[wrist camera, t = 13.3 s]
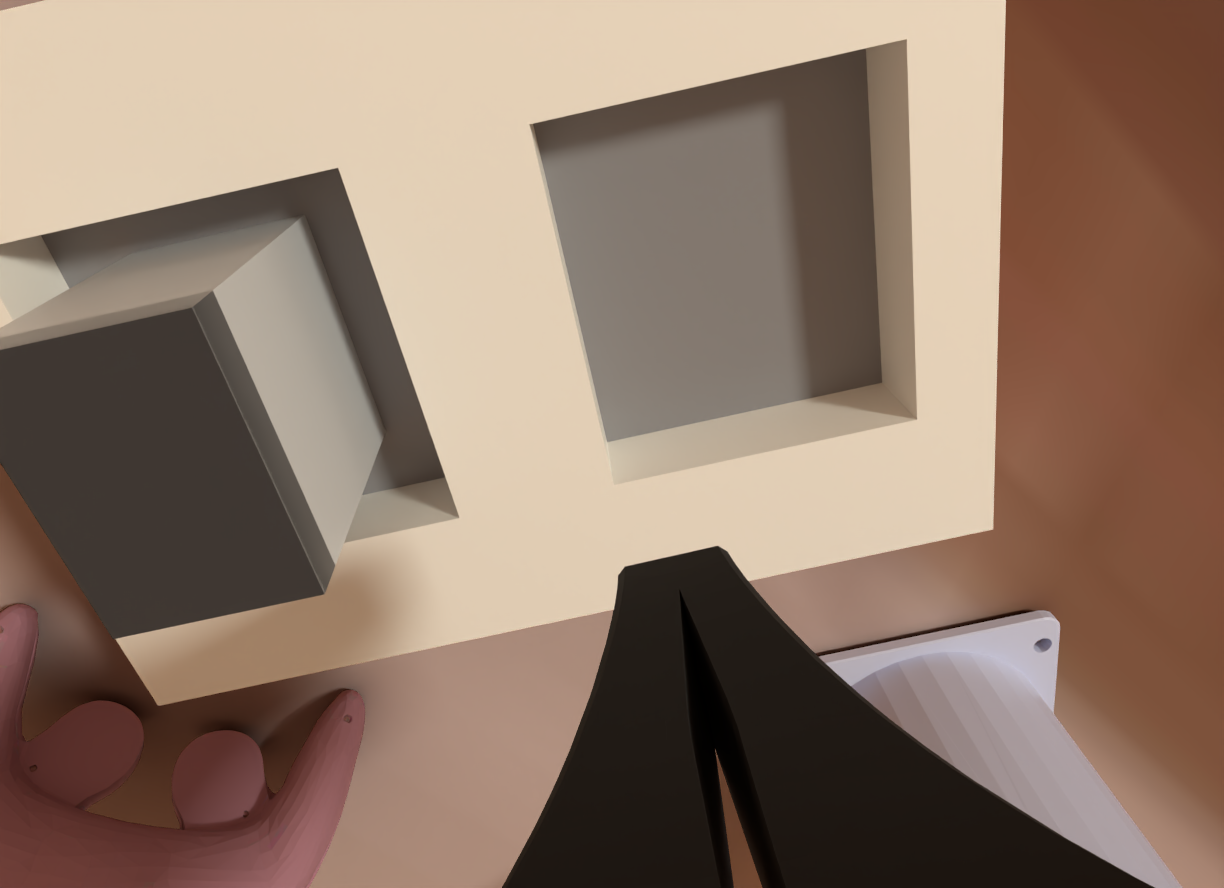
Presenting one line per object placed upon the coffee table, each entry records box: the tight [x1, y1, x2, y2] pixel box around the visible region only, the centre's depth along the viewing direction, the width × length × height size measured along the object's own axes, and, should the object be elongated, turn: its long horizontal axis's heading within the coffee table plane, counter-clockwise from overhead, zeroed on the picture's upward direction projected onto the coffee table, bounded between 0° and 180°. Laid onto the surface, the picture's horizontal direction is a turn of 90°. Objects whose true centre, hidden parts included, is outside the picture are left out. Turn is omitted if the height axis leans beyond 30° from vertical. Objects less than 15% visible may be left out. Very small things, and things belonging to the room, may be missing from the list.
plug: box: [0, 215, 386, 639], centre depth 15 cm, size 5×4×6 cm
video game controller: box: [0, 604, 365, 888], centre depth 21 cm, size 10×5×7 cm, turn 65°
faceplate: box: [0, 0, 1006, 706], centre depth 17 cm, size 14×20×2 cm
